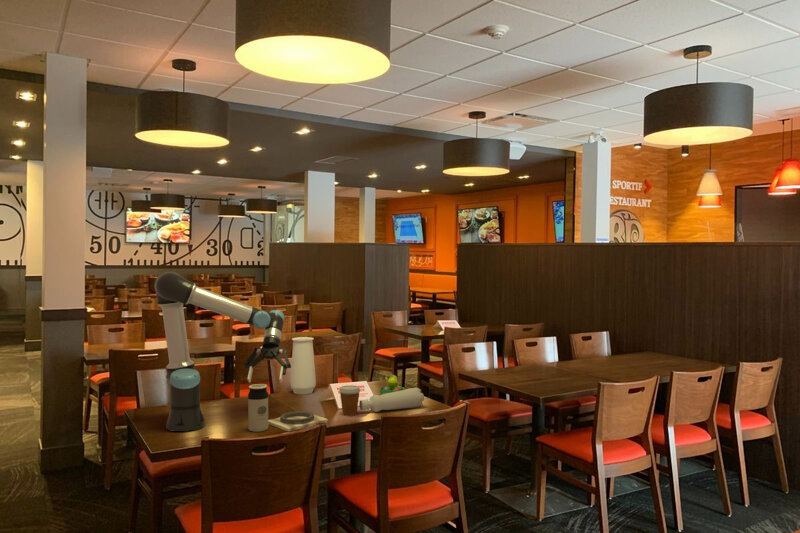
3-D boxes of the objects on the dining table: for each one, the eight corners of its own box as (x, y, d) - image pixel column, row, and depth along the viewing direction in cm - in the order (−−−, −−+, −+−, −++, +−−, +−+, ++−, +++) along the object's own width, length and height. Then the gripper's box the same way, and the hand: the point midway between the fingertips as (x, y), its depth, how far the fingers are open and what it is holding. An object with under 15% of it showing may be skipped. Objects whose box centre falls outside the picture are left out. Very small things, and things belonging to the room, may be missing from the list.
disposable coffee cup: (352, 417, 269) (351, 390, 269) (334, 414, 274) (334, 388, 274) (364, 413, 277) (364, 386, 277) (347, 410, 282) (347, 384, 282)
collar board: (288, 431, 249) (288, 424, 249) (266, 423, 261) (265, 416, 261) (328, 422, 263) (327, 415, 263) (304, 414, 275) (304, 407, 275)
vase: (285, 393, 315) (285, 339, 314) (299, 388, 327) (298, 336, 326) (307, 396, 310) (307, 340, 309) (320, 390, 322) (320, 337, 321)
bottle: (415, 396, 295) (356, 405, 282) (419, 383, 290) (359, 391, 277) (422, 410, 288) (362, 420, 276) (426, 397, 283) (365, 406, 271)
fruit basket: (379, 399, 302) (378, 377, 302) (383, 395, 311) (383, 373, 310) (401, 401, 300) (401, 378, 299) (405, 396, 308) (405, 374, 308)
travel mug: (247, 427, 254) (246, 384, 254) (266, 425, 257) (265, 383, 257) (250, 433, 247) (249, 388, 246) (270, 430, 250) (269, 386, 250)
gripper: (300, 345, 279) (295, 385, 264) (246, 345, 279) (237, 385, 265) (298, 335, 273) (292, 375, 259) (242, 335, 274) (233, 376, 259)
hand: (264, 380), depth 262 cm, fingers open, 13 cm apart
